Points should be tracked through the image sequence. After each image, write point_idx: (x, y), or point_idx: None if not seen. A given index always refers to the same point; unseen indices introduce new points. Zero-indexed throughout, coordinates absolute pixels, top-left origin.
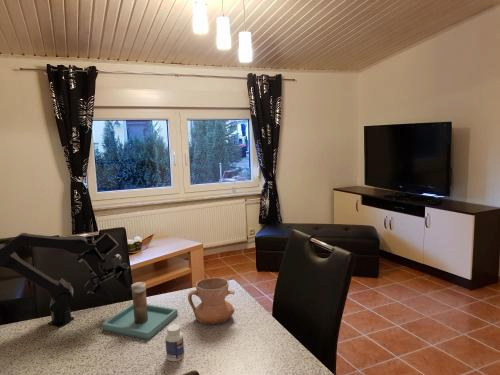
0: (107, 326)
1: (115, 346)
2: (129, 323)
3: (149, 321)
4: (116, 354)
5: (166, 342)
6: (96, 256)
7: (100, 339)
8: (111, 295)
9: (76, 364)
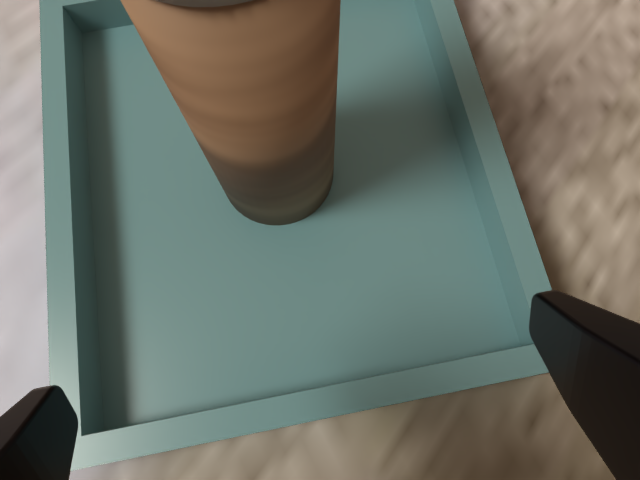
0: None
1: (596, 88)
2: (362, 220)
3: None
4: (637, 17)
5: None
6: None
7: (625, 256)
8: (587, 319)
9: None
